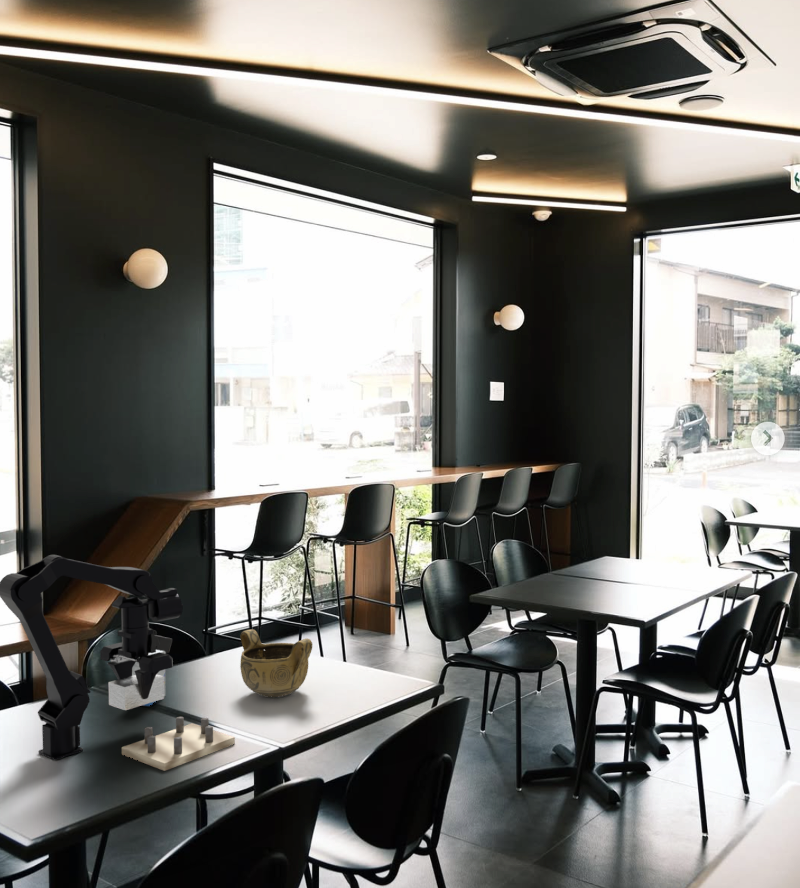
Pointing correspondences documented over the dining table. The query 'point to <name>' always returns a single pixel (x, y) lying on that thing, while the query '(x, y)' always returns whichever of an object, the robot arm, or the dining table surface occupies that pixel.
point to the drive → (133, 692)
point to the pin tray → (168, 747)
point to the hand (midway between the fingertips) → (136, 696)
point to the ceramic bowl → (273, 665)
